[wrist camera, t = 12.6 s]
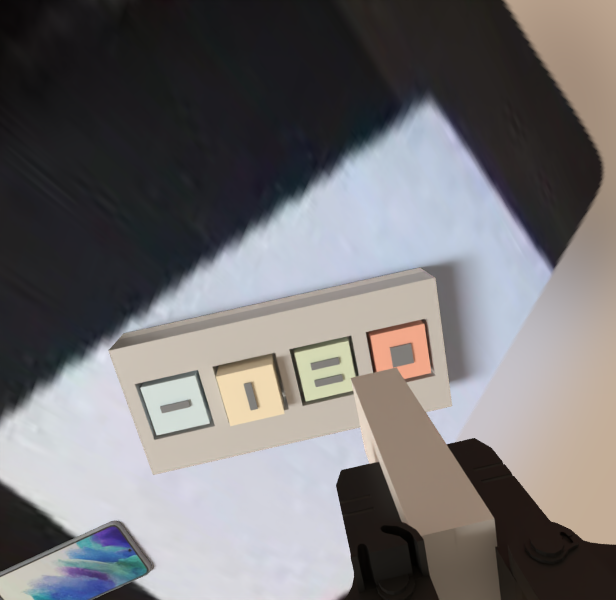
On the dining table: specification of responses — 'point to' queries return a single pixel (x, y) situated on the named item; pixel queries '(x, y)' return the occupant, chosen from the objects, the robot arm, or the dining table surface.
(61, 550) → the smartphone
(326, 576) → the dining table surface
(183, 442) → the keypad
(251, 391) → the key sand
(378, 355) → the key coral
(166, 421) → the key blue
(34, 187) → the dining table surface
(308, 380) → the key sage
